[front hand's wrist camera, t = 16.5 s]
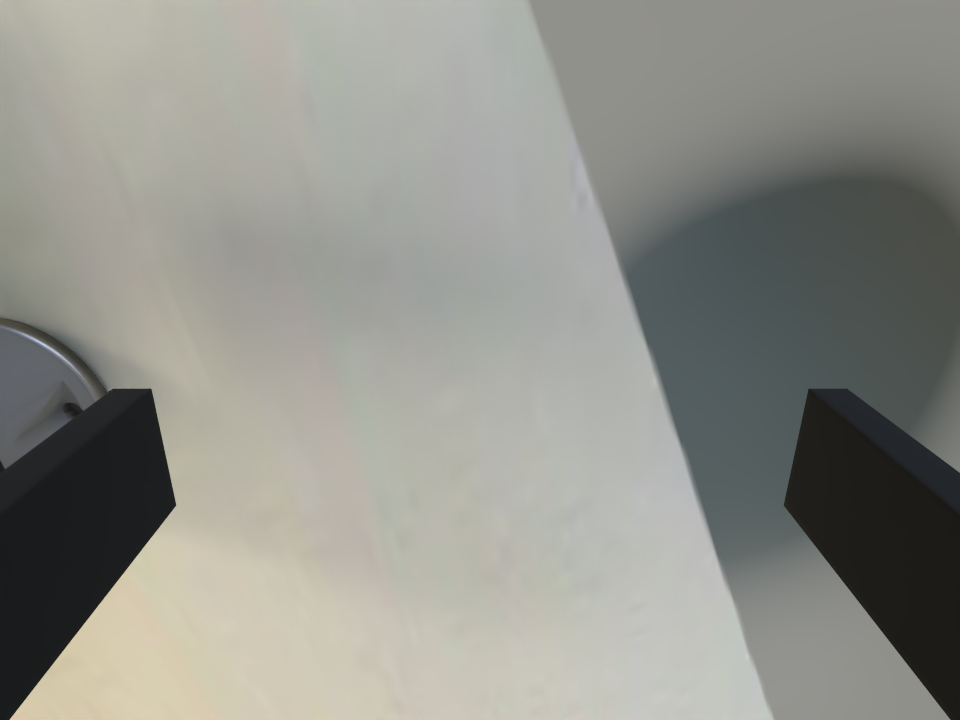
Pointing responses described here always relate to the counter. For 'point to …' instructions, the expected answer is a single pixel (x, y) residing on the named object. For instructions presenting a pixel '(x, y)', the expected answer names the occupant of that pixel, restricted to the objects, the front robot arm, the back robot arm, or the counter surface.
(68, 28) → the counter surface
